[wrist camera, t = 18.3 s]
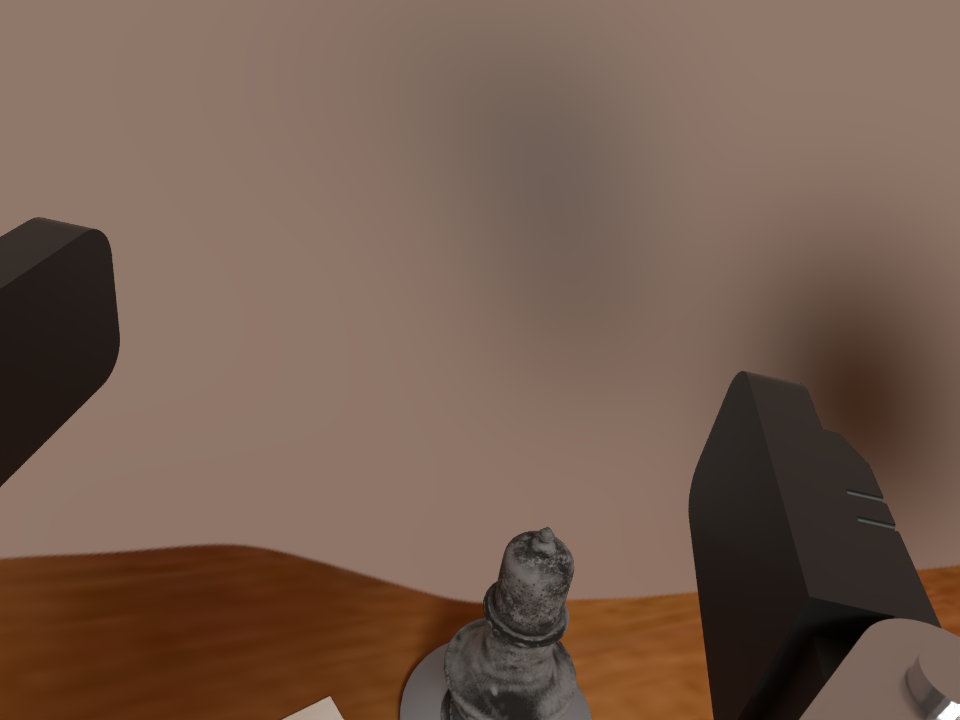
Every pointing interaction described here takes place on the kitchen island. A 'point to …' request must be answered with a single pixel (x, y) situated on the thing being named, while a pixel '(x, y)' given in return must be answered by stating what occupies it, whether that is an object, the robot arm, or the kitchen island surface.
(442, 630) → the kitchen island surface
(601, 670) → the kitchen island surface
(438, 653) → the coaster
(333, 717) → the card
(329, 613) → the kitchen island surface
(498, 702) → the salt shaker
